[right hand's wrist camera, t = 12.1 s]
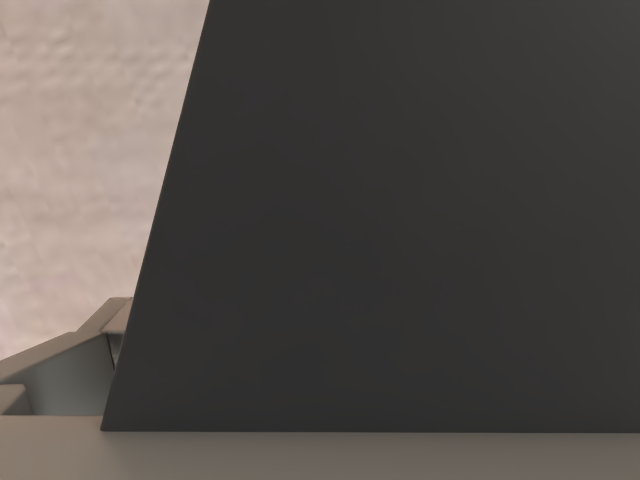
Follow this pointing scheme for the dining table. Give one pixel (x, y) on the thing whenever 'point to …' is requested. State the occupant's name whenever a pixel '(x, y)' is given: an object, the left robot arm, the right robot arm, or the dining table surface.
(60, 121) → the dining table surface
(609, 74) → the box
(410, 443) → the right robot arm
